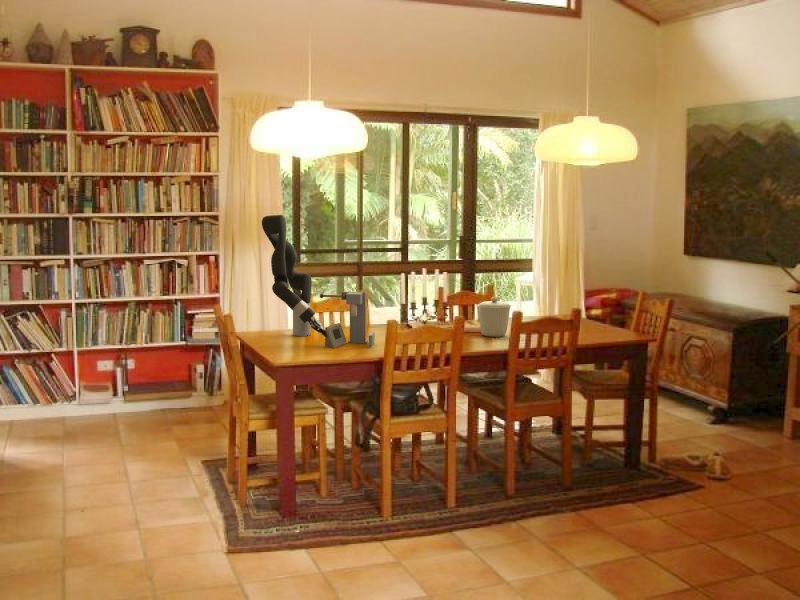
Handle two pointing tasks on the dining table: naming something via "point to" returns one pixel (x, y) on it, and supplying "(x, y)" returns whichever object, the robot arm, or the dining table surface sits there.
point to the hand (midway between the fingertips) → (327, 336)
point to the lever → (333, 296)
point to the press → (358, 318)
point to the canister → (494, 317)
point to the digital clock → (334, 336)
